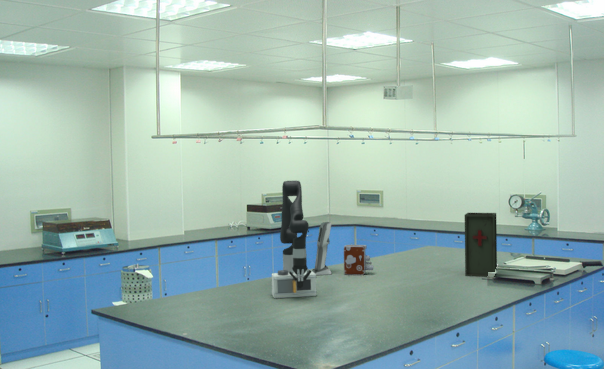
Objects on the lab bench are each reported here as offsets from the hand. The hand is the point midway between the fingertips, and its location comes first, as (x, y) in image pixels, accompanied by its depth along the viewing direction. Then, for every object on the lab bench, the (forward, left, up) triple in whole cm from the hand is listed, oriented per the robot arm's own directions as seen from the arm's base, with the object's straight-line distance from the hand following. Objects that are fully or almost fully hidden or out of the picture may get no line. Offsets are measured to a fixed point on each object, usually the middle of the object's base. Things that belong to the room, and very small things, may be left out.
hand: (300, 287), depth 309 cm
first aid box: (-40, +128, -6) cm, 134 cm away
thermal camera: (-70, +26, -6) cm, 75 cm away
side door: (-1, -7, -3) cm, 8 cm away
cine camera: (-61, +50, -6) cm, 79 cm away
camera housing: (-9, -2, -6) cm, 11 cm away
